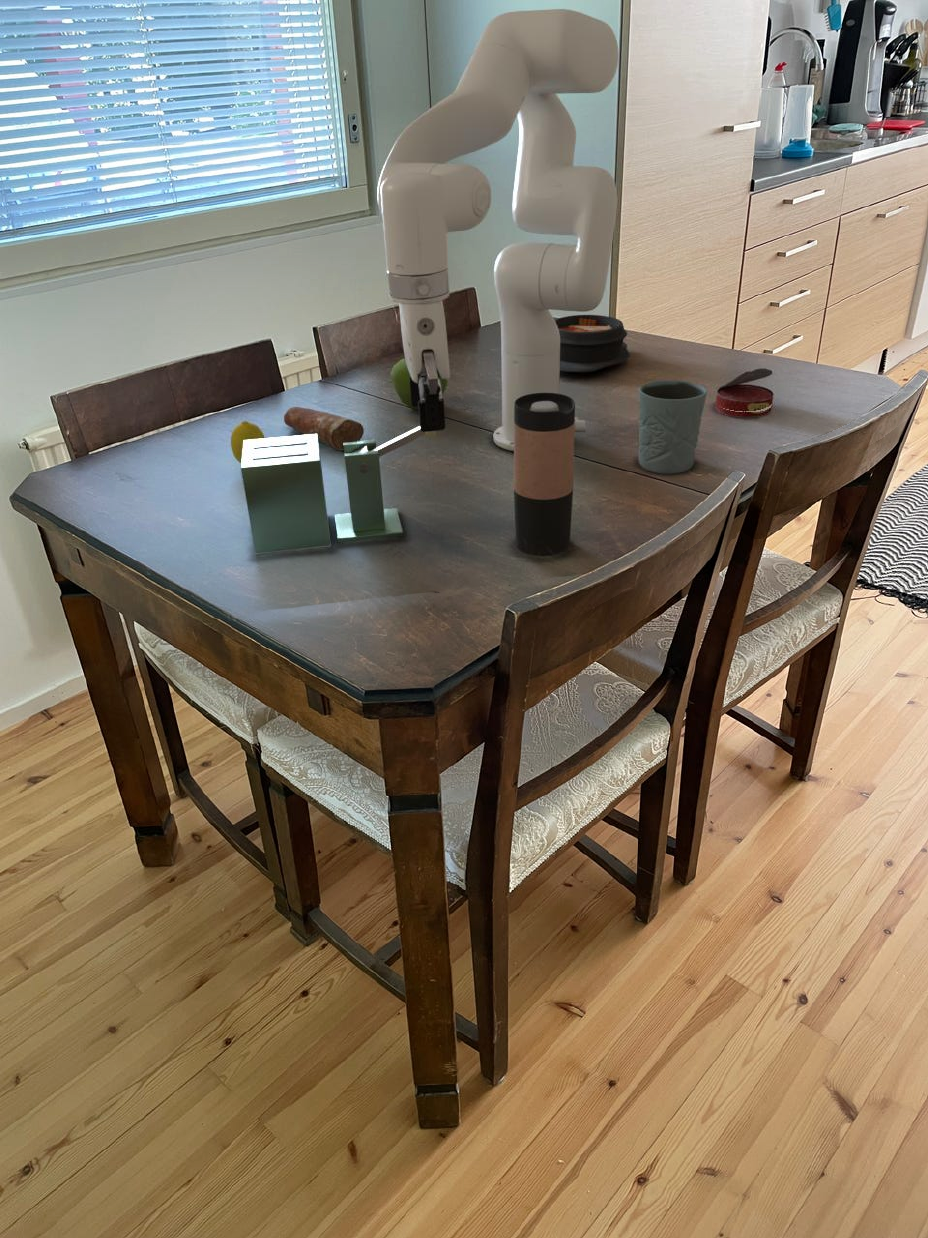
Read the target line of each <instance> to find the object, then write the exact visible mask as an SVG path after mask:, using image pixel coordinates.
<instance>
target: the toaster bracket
mask: <svg viewBox="0 0 928 1238" xmlns="http://www.w3.org/2000/svg"><path fill="white" fill-rule="evenodd" d="M343 446H344V449H343V455H344V464H345V474H346V483H347V484H346V485H347V491H348V492H347V493H348V501H349V510H350V512H345V513H336V514H334V515H333V516H334V524H335V532H336V540H337V544H340V543H349V542H350V543H351V542H359V541H369V540H377V539H378V540H379V539H386V538H387V539H388V538H397V537H398V538H399V537H404V531H403V527H402V523H401V520H400V516H399V515H400V514H399V511H398V508H397V507H394V508H384V499H383V487H382V475H381V464H380V463H381V462H380V457H379V453H378V451H371V450H373V449H375V448H377V441H376V439H371V440H359V441H358V442H347V443H343ZM364 446H367V448H368V449H369V451H366V452H356V453H352V452H354V451H356V450H358V449H360V448H362V447H364Z"/></svg>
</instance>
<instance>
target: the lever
mask: <svg viewBox="0 0 928 1238" xmlns="http://www.w3.org/2000/svg"><path fill="white" fill-rule="evenodd" d="M423 436H426V438H427V439H430V440H432V439H435V438H436V437H437V431H429V432H422V431H421V429H420V425H418V426H417V427H415V428H413V429H410V430H408V431H407V432H405V433H403V434H401V435H399V436H397V437H395V438H393V439H391V440H389V441H387V442H385V443H383V444H381V445H379V446H376V448H375V449H373V450H371V451H378V453H379V458H380V457H382V456H384V455H387V454H388V453H391V452H393V451H395V450H397V449H398V448H400V447H402V446H405V445H406V444H408V443H411V442H412V441H415V440H416V439H419V438H420V437H423ZM366 451H369V449H368V448H367V446H364V447H362V448H360V449H358V450H356V451H354V452H352V453H356V452H366Z"/></svg>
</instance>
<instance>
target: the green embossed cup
mask: <svg viewBox="0 0 928 1238" xmlns="http://www.w3.org/2000/svg"><path fill="white" fill-rule="evenodd" d="M707 395H708V394H707V388H705V387H704V386H703V385H700V384H698V383H695V382H691V381H686V380H675V379H668V380H667V379H666V380H665V379H664V380H655V381H649V382H646V383H644V384H642V385H640V386H639V388H638V409H639V413H638V415H639V416H638V420H639V421H638V427H639V428H638V433H639V434H638V446H639V447H638V463H639V466H640V467H641V468H642V469H644V470H646V471H649V472H652V473H657V474H665V475H666V474H669V475H670V474H680V473H684V472H687V471H688V470H691V468H692V467H693V466H694V462H695V457H696V448H697V447H698V441H699V435H700V427H701V423H702V416H703V412H704V407H705V404H706V399H707Z"/></svg>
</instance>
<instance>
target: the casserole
mask: <svg viewBox="0 0 928 1238" xmlns="http://www.w3.org/2000/svg"><path fill="white" fill-rule="evenodd" d="M554 320H555V322H556V324H557V327H558V330H559V334H560V372H562V373H564V372H565V373H579V374H580V373H581V374H582V373H591V372H596V371H599V370H601V369H606V368H609V367H612V366H616V365H618V364H621V363H623V362H626V361H627V360H628V359H629V358H630V356H631V354H630V353H631V352H630V351H629V350H628V344H627V343H626V342H624V340H625V338H626V337H627V336H628V332H627V330H626V329H625V327H624V323H623V322H622V320H620V319H618V318H617V317H616V318H615V317H612V316H607V315H600V314H574V315H568V316H562V317H559V318H555V319H554Z"/></svg>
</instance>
